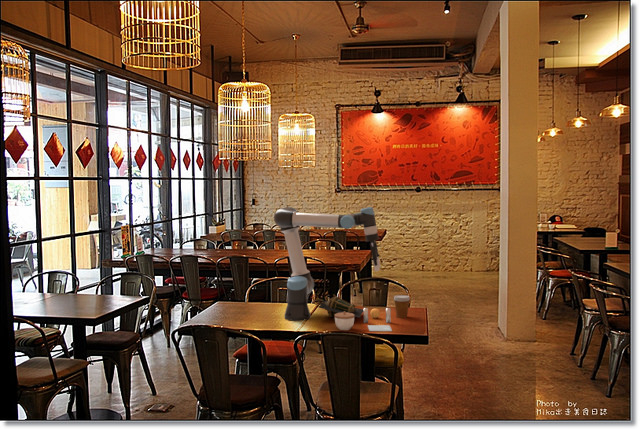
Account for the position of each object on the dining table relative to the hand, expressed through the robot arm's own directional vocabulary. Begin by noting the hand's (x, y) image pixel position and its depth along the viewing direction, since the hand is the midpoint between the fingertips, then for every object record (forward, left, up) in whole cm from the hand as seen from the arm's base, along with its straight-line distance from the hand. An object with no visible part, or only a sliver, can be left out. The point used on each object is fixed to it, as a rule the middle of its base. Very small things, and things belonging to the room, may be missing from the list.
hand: (377, 269), depth 336 cm
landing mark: (-2, -28, -28) cm, 40 cm away
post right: (+4, -15, -28) cm, 32 cm away
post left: (-8, -15, -28) cm, 33 cm away
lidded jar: (-21, -29, -28) cm, 45 cm away
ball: (-2, -4, -25) cm, 25 cm away
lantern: (-24, -2, -28) cm, 37 cm away
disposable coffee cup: (+14, -1, -28) cm, 31 cm away
